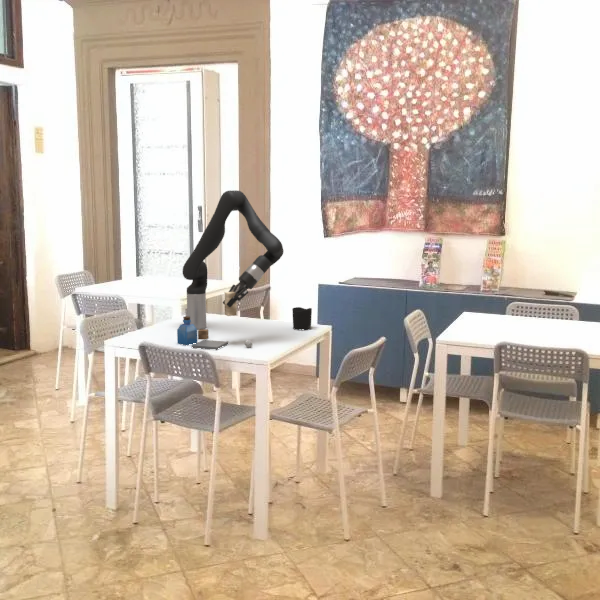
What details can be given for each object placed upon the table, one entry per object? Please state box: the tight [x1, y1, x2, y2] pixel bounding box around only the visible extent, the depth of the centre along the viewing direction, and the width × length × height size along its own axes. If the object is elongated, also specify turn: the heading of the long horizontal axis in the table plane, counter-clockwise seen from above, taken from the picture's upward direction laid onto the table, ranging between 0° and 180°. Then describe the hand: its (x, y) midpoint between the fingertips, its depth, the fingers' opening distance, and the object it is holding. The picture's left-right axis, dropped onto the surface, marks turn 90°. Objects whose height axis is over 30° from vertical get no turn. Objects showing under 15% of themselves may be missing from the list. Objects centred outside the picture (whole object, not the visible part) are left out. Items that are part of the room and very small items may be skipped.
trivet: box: [190, 339, 229, 350], centre depth 321 cm, size 12×12×1 cm
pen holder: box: [291, 306, 313, 330], centre depth 359 cm, size 9×9×10 cm
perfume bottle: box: [176, 315, 198, 346], centre depth 326 cm, size 6×6×12 cm
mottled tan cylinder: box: [224, 291, 238, 317], centre depth 323 cm, size 4×4×10 cm
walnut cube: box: [197, 328, 209, 340], centre depth 337 cm, size 4×4×4 cm
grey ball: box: [244, 339, 253, 348], centre depth 318 cm, size 3×3×3 cm
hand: (226, 305), depth 322 cm, fingers closed on mottled tan cylinder, 4 cm apart
